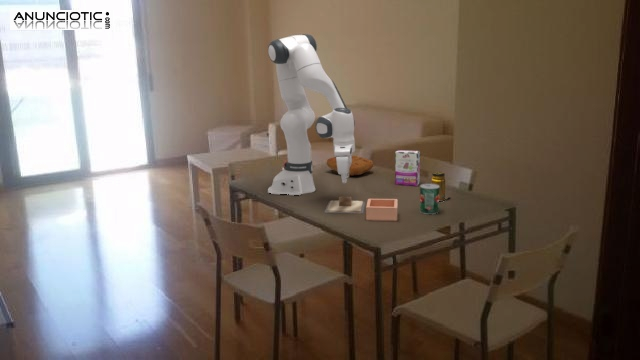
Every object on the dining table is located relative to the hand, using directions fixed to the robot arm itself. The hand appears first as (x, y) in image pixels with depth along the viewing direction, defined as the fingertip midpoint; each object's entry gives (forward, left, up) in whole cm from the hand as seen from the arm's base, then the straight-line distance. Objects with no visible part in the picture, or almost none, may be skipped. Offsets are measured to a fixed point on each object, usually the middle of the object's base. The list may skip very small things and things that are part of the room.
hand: (345, 179), depth 252 cm
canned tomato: (+35, -2, -13) cm, 37 cm away
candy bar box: (+26, +41, -13) cm, 50 cm away
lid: (0, 0, -12) cm, 12 cm away
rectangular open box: (+16, -11, -13) cm, 23 cm away
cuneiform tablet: (-4, +63, -13) cm, 65 cm away
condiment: (+40, +17, -13) cm, 45 cm away
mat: (0, 0, -13) cm, 13 cm away
